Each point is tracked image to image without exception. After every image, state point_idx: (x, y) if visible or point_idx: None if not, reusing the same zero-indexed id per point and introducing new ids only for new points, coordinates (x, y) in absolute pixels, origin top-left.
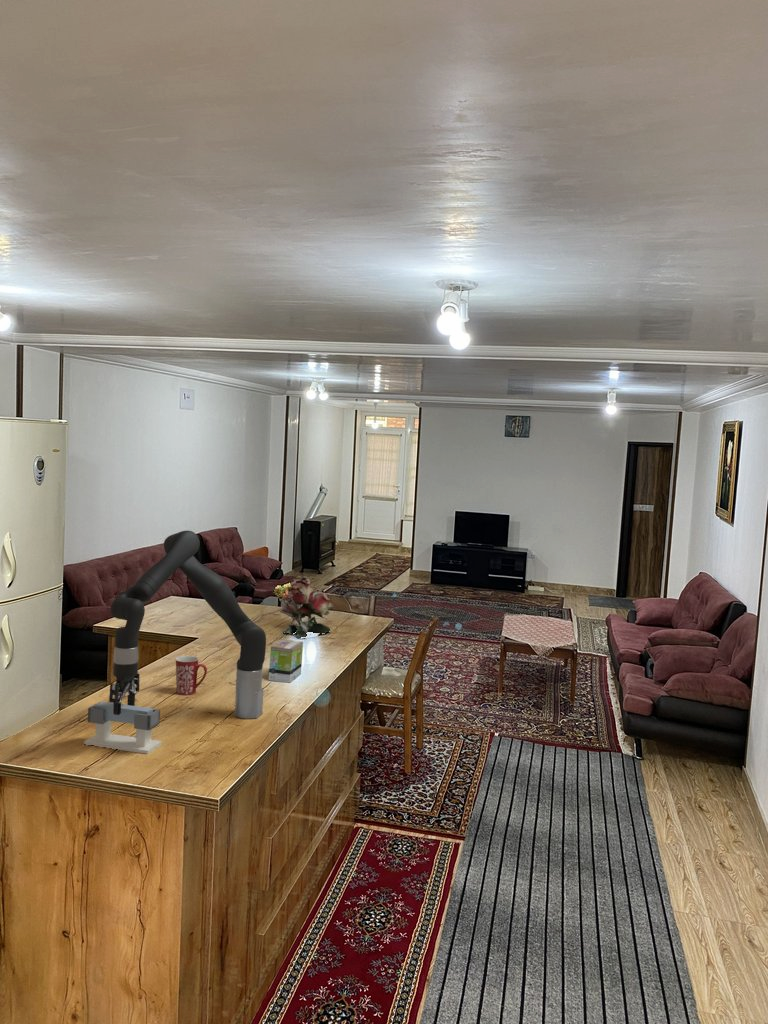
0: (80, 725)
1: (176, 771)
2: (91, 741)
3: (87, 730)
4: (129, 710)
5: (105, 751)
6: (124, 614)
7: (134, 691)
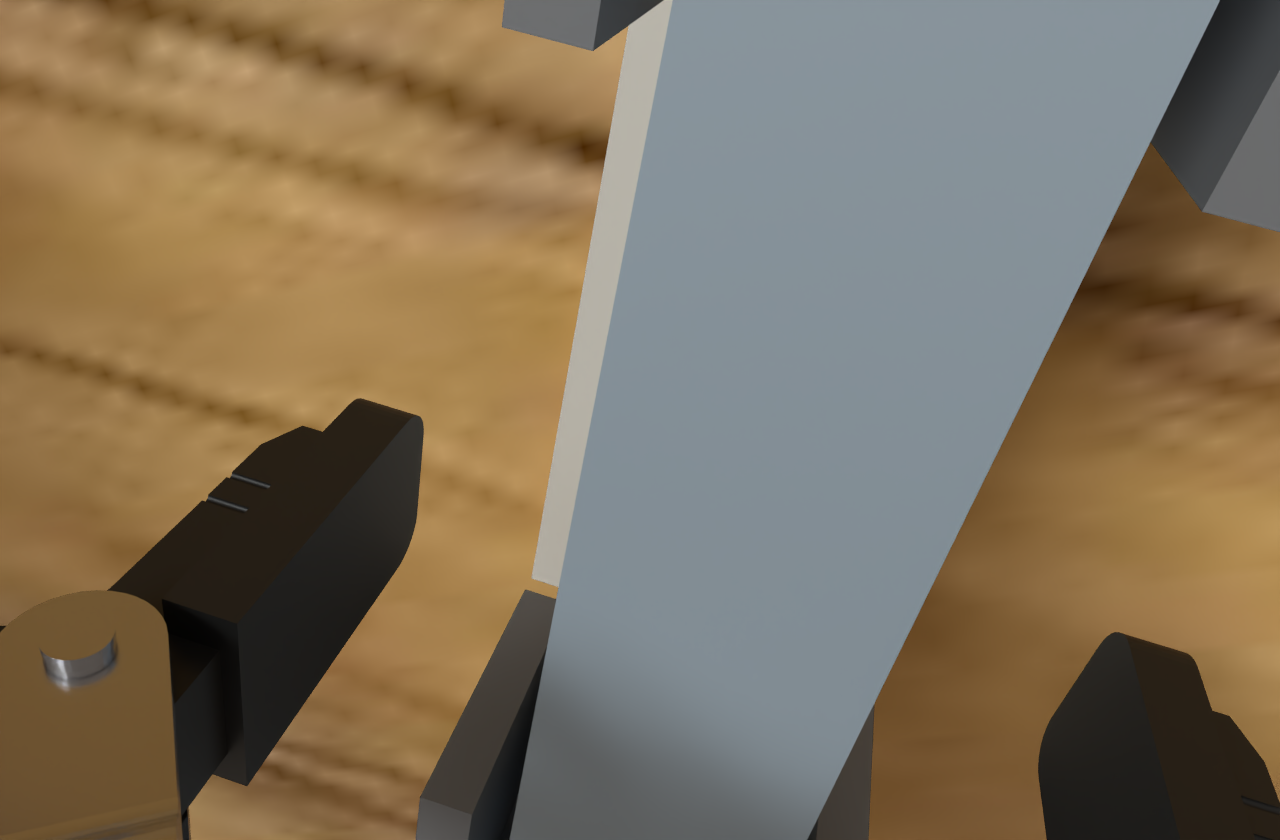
0: (333, 730)
1: None
2: None
3: (434, 669)
4: (974, 468)
5: (1104, 405)
6: None
7: (108, 759)
